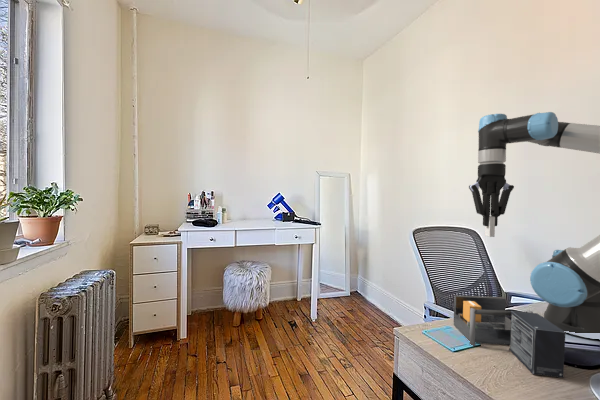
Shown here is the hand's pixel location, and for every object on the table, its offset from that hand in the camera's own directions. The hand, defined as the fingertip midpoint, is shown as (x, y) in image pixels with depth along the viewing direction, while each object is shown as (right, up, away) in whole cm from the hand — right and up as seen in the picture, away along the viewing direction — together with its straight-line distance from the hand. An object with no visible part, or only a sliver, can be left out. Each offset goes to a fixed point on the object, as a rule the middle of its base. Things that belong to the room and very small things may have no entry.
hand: (489, 236), depth 94 cm
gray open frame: (-9, -27, -18) cm, 34 cm away
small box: (-6, -27, -25) cm, 38 cm away
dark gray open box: (-9, -27, -13) cm, 31 cm away
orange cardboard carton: (-13, -23, -12) cm, 29 cm away
